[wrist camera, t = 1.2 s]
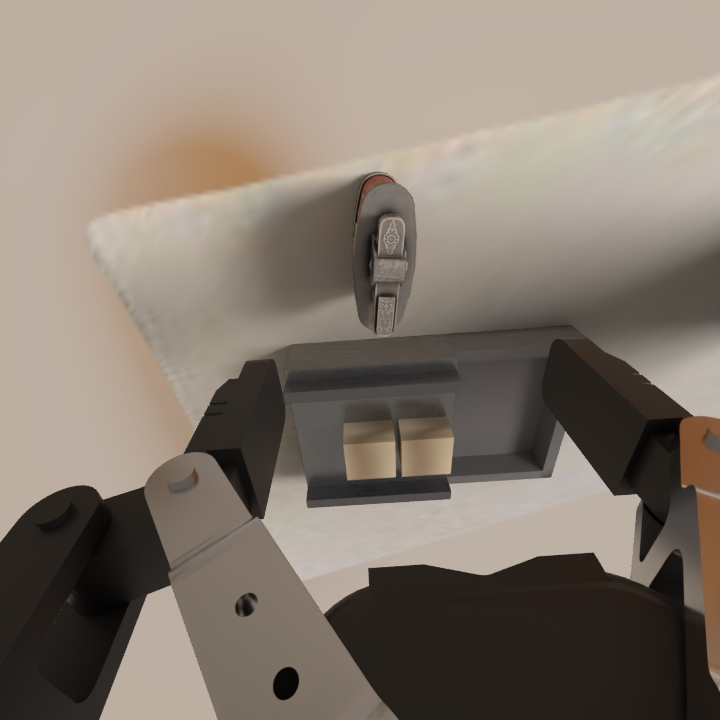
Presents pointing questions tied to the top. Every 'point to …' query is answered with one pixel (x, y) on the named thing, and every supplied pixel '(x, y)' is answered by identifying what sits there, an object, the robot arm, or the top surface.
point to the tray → (504, 406)
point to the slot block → (367, 409)
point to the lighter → (383, 252)
